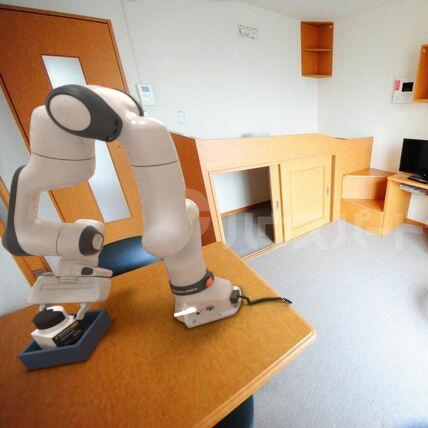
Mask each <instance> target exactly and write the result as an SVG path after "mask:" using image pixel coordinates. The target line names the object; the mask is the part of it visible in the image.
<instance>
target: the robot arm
mask: <svg viewBox="0 0 428 428" xmlns="http://www.w3.org/2000/svg"><path fill="white" fill-rule="evenodd" d="M96 141H100V142H104V143H113V142H115V141H116V142H118V143H119V144H120V145H121V146H122V147H123V148H124V151H125V153H126V155H127V159H128V161H129V165H130V167H131V170H132V173H133V176H134V179H135V183H136V186H137V188H138V193H139V196H140V204H141V216H142V236H141V246H142V248H143V250H144V251H145V252H146V253H147V254H148V255H150V256H151V257H155V258H159V259H163V264H164V268H165V271H166V274H167V277H168V285H169V288H170V291H171V293H172V295H173V298H174V314H173V315H174V317H175V318H176V320H178V321H180V322H182V323H184V325H185V326H186V327H187V328H189V329H190V328H194V327H198V326H201V325H202V326H203V325H205V324H208V323H211V322H214V321H218V320H221V319H225V318H227V317H231V316H234V315H236V313H237V312H238V311H239V309H240V307H241V304H242V299H243V300H246V303H247V304H248V305H254V304H257V303H260V302H264V301H284V300H285V301H284V302H286V303H287V304H290V305H292V304H293V302H292V301H291V300H290V299H288V298H285V297H282V298H283V299H284V300H283V299H282V298H281V296H275V297H274V296H273V297H271V296H270V297H262V298H257V299H255V300H251V299H250V298H249V297H247V296H246V295H242V291H241V289H240V287H239V286H237V285H233V283H232V281H231V280H230V279H226V278H224V277H223V278H222V277H219V276H216V275H215V274H214V272H215V270H214V268H211V270H209V269H208V268H207V267H206V262H205V257H204V254H203V246H202V245H203V244H202V231H201V222H200V221H201V220H200V208H199V206H198V205H197V204H196V202H195V201H194V200H192V199H190V198H186V187H187V186H186V182H185V178H184V173H183V170H182V166H181V162H180V158H179V155H178V151H177V148H176V145H175V142H174V140H173V137H172V135H171V132H170V131H169V129H168V127H167V126H166V124H165V123H164V122H163V121H161V120H159V119H157V118H155V117H151V116H145V111H144V108H143V106H142V105H141V102H139V100H138V99H137V98H136V97H134V96H133V95H132V94H130V93H128V92H127V91H124V90H123V89H122V90H121V89H119V88H115V87H114V88H113V87H112V88H110V87H106V86H102V85H98V84H73V83H72V84H63V85H59V86H57V87H54V88H53V89H51V90H50V91H49V92H48V93H47V94H46V96H45V98H44V104H43V105H39V106H37V107H36V108H34V109H33V111H32V113H31V116H30V125H29V147H30V158H29V161H28V162H27V164H24V165H23V164H22V165H21V166H18V168H16V170H15V171H14V173H13V175H12V178H11V183H10V189H9V195H8V196H9V197H8V205H7V217H6V223H5V227H4V230H3V233H2V237H1V245H2V247H3V248H4V250H6V251H7V252H8V253H9V254H11V255H13V256H14V257H17V258H18V257H19V258H20V257H60V258H59V260H58V262H57V266H56V269H55V271H54V272H53V271H52V272H51V271H46V272H44V273H42V274H41V275H39V276H38V277H37V278H36V281H35V282H34V283H33V285H32V287H31V288H30V290H29V292H28V295H27V297H26V299H25V300H26V301H25V302H26V303H27V305H39V307H38V310H39V312H41V311H42V310H44V309H46V308H49V307H52V306H53V305H55V304H80V305H79V307H80V309H79V310H78V311H77V312H78V313H76V312H73V313H74V317H73V320H80V319H83V317H84V314H85V312H86V311H89V309H90V308H91V307H92V303H104V302H106V301H107V300H108V298H109V296H110V292H111V287H112V280H111V279H110V278H111V277H112V276H113V271H112V270H110V269H108V268H104V267H102V266H101V267H100V266H98V265H99V256H100V253H101V252H102V250H103V247H104V243H105V239H106V225H105V224H104V223H103V222H101V221H99V220H96V219H91V218H80V219H77V220H75V221H74V222H61V221H50V220H44V219H41V218H39V217H38V213H39V206H40V205H39V204H40V197H41V194H42V193H44V192H49V191H54V190H55V191H56V190H62V189H68V188H72V187H76V186H77V187H78V186H80V185H83V184H84V183H86V182H88V181H90V179H91V178H92V177H93V176H94V175H95V172H96V168H97V167H96V166H97V157H96Z"/></svg>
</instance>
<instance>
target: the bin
mask: <svg viewBox="0 0 428 428" xmlns="http://www.w3.org/2000/svg"><path fill="white" fill-rule="evenodd" d="M74 313H78V311H76V312H70V313H67V314H68V315H71V316H74ZM80 320H81V321H82V323H83V325H84V327H85V328H86V330H87V331H86V332H85V333H84V335H83V336H82V337H81V339H80V340H79V341H78V342H77V343H76V344H74V345H70V346H63V347H57V348H51V349H45V350H42V349H41V347H40V346H39V345H38V343H37V342H36V341H35V339H34V338H33V339H32V340H31V341H30V342H29V343H28V344H27V345H26V346H25V347H24V348H23V349H22V350H21V351H20V352H19V353H18V354H17V356H16V357H17V359H18V360H19V361H20V362H21V363H22V364H23V366H24V367H25V368H26V370H27V371H32V370H38V369H43V368H44V369H45V368H50V367H54V366H55V367H56V366H61V365H66V364H67V365H68V364H73V363H79V362H83V361H84V362H85V361H87V360H88V358H90V356H91V354H92V353H93V351H94V350H95V348H96V347H97V345H98V344H99V342H100V341H101V340H102V338H103V336H104V335H105V333H106V332H107V330H108V329H109V327H110V326H111V324H112V323H113V319H112V317H111V316H110V314H109V312H108V310H107V308H99V309H91V310H87V311H86V312H85V314H84V317H83V319H80Z"/></svg>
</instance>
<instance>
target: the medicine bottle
mask: <svg viewBox="0 0 428 428" xmlns="http://www.w3.org/2000/svg"><path fill="white" fill-rule="evenodd" d="M68 314H69V313H67V311H66V309H65V307H64V306H62V305H52V307H49V308H46V309H44V310H42V311H41V312H40V311H39V312H38V313H36V314H35V315H34V316H33V318H32V320H31V321H32V323H33V325H34V327H36V329H34V331H32V332H31V333H30V336H31V337H32V338H33V339H35V341H36V342H37V343H38V345H39V346H40V347H41V349H42V350H45V349H51V348H57V347H63V346H70V345H74V344H76V343H77V342H78V341H79V340H80V339H81V337H82V336H83V335H84V333H85V332H86V331H87V330H86V328H85V327H84V325H83V323H82V321H81V320H73V317H74V316H71V315H68Z"/></svg>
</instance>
